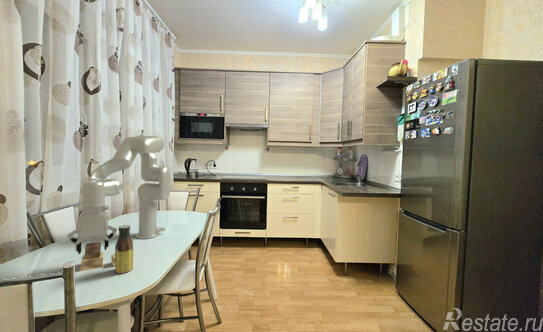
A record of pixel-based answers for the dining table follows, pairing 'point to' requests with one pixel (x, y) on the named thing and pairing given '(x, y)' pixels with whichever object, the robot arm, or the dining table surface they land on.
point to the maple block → (113, 260)
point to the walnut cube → (92, 250)
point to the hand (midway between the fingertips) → (92, 250)
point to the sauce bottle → (124, 251)
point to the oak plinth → (91, 263)
